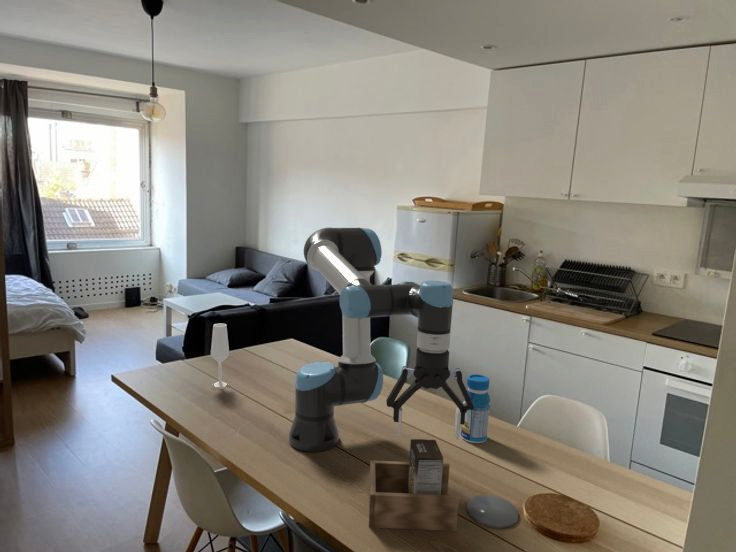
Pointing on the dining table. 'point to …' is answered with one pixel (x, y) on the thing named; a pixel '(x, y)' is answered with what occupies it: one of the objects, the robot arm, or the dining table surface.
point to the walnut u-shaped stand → (408, 500)
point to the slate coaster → (492, 511)
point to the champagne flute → (219, 349)
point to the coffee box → (425, 467)
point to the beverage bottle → (477, 410)
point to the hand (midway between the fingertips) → (427, 435)
